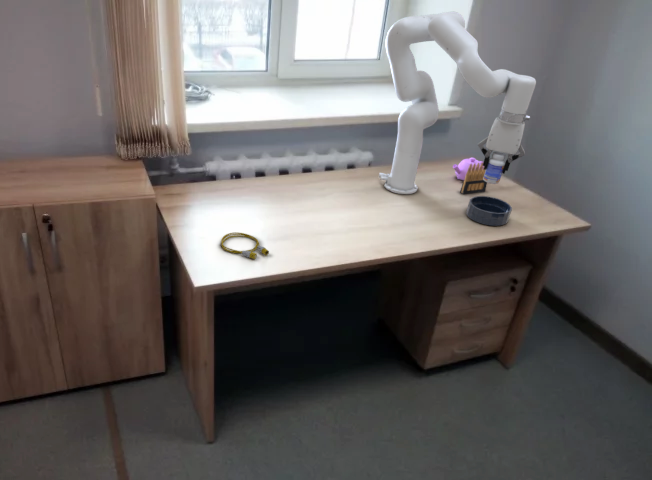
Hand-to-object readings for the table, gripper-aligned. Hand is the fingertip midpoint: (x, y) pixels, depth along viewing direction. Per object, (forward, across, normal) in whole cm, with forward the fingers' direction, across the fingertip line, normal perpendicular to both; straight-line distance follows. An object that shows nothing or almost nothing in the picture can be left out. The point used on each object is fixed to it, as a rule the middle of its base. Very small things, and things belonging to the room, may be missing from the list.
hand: (494, 169), depth 178 cm
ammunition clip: (+18, +4, -21) cm, 28 cm away
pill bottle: (+4, 0, 0) cm, 4 cm away
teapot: (+18, +8, -32) cm, 37 cm away
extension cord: (+18, +64, +61) cm, 90 cm away
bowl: (+17, -2, 0) cm, 17 cm away
